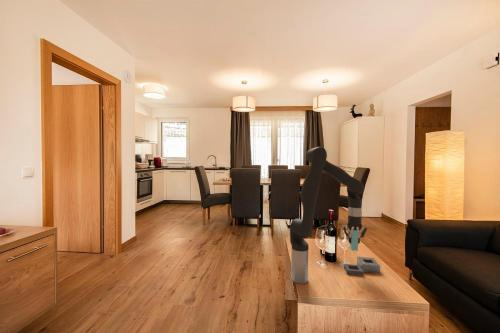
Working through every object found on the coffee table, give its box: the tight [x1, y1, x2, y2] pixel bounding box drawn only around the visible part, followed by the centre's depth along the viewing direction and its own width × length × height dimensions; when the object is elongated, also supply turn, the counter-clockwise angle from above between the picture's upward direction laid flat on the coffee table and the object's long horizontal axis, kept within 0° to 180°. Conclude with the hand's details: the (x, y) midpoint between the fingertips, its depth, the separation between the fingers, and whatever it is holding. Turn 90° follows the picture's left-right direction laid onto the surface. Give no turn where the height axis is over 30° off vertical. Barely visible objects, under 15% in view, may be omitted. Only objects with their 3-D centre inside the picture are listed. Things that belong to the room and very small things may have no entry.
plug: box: [349, 230, 359, 252], centre depth 143 cm, size 4×4×12 cm
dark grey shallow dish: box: [343, 263, 365, 277], centre depth 144 cm, size 9×9×2 cm
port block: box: [356, 256, 381, 274], centre depth 149 cm, size 12×10×5 cm
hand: (354, 243), depth 143 cm, fingers closed on plug, 3 cm apart
